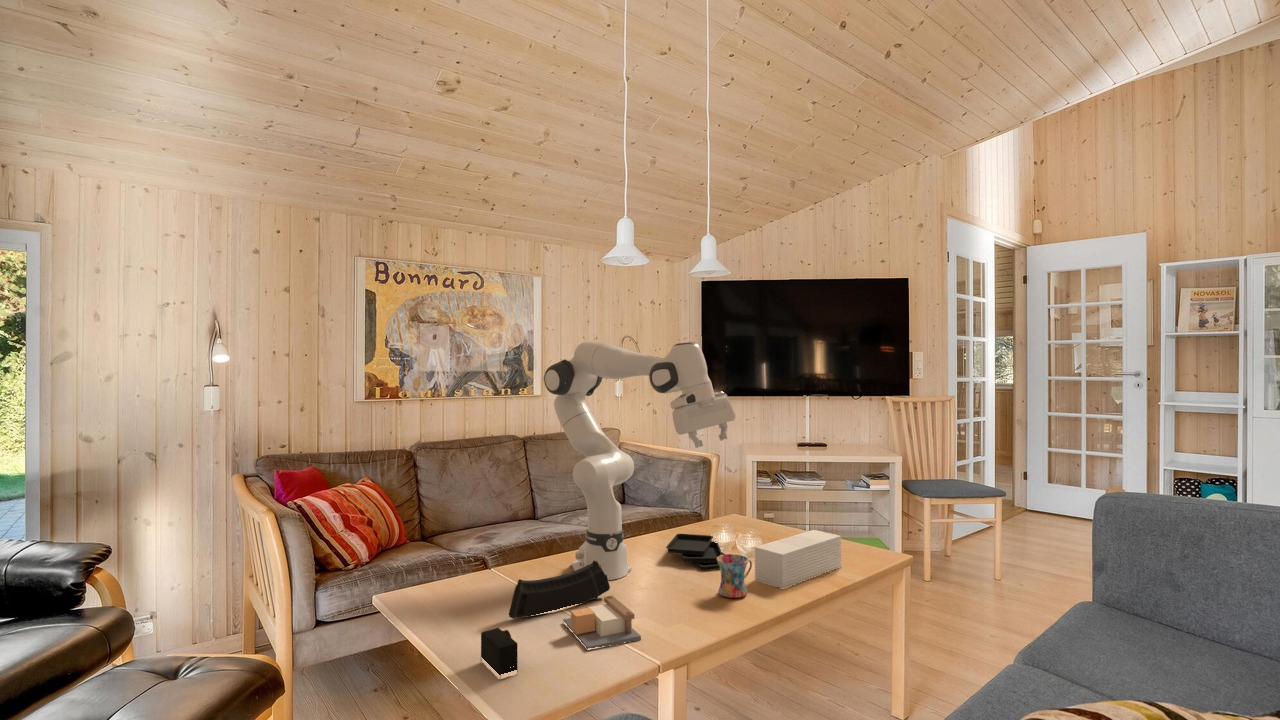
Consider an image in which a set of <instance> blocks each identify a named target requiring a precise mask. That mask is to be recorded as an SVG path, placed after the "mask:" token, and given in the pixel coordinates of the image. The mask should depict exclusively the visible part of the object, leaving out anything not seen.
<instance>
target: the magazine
mask: <svg viewBox="0 0 1280 720" xmlns="http://www.w3.org/2000/svg"><path fill="white" fill-rule="evenodd" d="M610 589H611V587H610V582H609V580H608V578H607V575H606V574H605V573H604V570H603V568H602V566H601V564H600V567H599V564H598V562H597V561H593V563H592V564H589V565H586V566H585V567H583V568H581V569H578V570H576V571H574V570H573V571H570V572H568V573H564V574H562V575H557V576H554V577H553V576H552V577H547V578H541V579H536V580H535V579H533V580H525V579H523V580H522V579H518V581H517V583H516V585H515V588H514V591H513V595H512V600H511V603H510V607H509V612H508V616H509V617H510V618H511V619H514V620H515V619H519V618H527V617H526V616H530V617H532V616H531V615H536V614H540V613H544V612H548V611H552V610H557V609H560V608H563V607H567V606H571V605H575V604H580V603H583V604H584V602H585V603H587V602H589V600H590V601H592V600H594V599H595V598H596V599H595V600H597V598H598V599H599V597H600V596H601V595H603V594H605V593H606V592H608V591H609V590H610Z"/></svg>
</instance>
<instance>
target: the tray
mask: <svg viewBox="0 0 1280 720" xmlns="http://www.w3.org/2000/svg"><path fill="white" fill-rule="evenodd" d="M713 538H714V535H709V534H708V535H707V534H694V533H692V534H691V533H676V535H675V536H673V538H672V540H671V541H670V542H669V543H668V544H667V545H666V547H665V548H666V550H667V553H669V554H677V555H678V554H679V555H681V558H683V561H684V563H690V564H692V565H693V566H695V567H696V568H697V569H699V570H700V571H712V570H711V569H713V570H719V569H718V568H720V567H719V564H718V561H717V557H718V556H720V555H725V554H726V553H724V552H722V550H721V547H720V545H719V542H718V543H715V542H716V541H715V540H714V541H715V542H714V541H712V539H713ZM701 563H714V564H707V565H703V564H701ZM715 563H716V564H715Z"/></svg>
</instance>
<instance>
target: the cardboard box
mask: <svg viewBox="0 0 1280 720" xmlns="http://www.w3.org/2000/svg"><path fill="white" fill-rule="evenodd" d="M570 618H571V629H572V630H573V631H574V633H575V634H582V633H587V632H592V631H595V612H593V611H592V610H591V609H590V608H581V609H574V610H570Z"/></svg>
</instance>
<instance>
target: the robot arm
mask: <svg viewBox="0 0 1280 720" xmlns="http://www.w3.org/2000/svg"><path fill="white" fill-rule="evenodd" d="M639 376H640V377H641V376H644V377H645V376H646V377H647V376H648V378H649V382H650V386H651V388H652V389H653V390H654V391H655V392H657V393H659V394H672V393H678V392H682V393H681V394H680V395H679V396H677V397H676V398H674V399H673V400H672V401H670V403H669V405H670V407H671V409H672V421H673V425H674V429H675V432H676V434H678V435H680V436H681V435H686V434H688V437H689V438H690V440H691V441H692V442H693V443H694V447H695V448H701V447H703V446H704V444H703V440H702V439H699V438H698V437H697V435H698V431H699V430H703V429H707V428H712V427H716V426H718V427H719V429H720V433H719V434H718V438H719V441H722V442H723V441H726V440H728V435H727V432H728V423H729V422H733V421H735V419H736V414H735V411H734V408H733V406H732V404H731V401H730V400H729V396H728V394H727V393H725V392H723V391H717V392H715V390H714V388H713V384H712V380H711V379H710V377H709V374H708V365H707V361H706V359H705V355H704V353H703V351H702V349H701V346H700V345H699V344H698V343H697V342H694V341H691V342H690V341H689V342H688V341H687V342H679V343H676V344H673V345H672V346H671V349H670V351H669V352H668V354H666V356H665V357H663V358H662V357H657V356H651V355H647V354H643V353H641V352H637V351H633V350H630V349H627V348H624V347H621V346H618V345H615V344H612V343H611V344H610V343H607V342H603V341H602V342H601V341H584V342H580V344H578V345H577V347H576V348H575V350H574V352H573V357H572V358H571V359H570V360H569V359H563V360H560V361H558V362H556V363H553V364H552V365H550V366H549V367H548V368H546V370H545V372H544V376H543V382H544V386H545V388H546V390H547V391H548V392H549V393H550V394H552V395H556V397H555V399H554V401H553V407H554V411H555V414H556V416H557V419H558V422H559V423H560V426H561V428H562V430H563V431H564V434H565V436H566V437H567V439H568V441H569V443H570V445H571V446H572V448H573V449H574V450H576V451H577V452H579V453H581V454H582V455H583V456H585V458H583V459H581V460H580V461H578V462H577V463H576V464H575V465H574V467H573V470H572V478H573V481H574V484H575V486H576V487H578V488H579V489H580V490H581V492H582V494H583V496H584V498H585V502H586V507H587V508H586V509H587V529H586V533H585V538H584V539H585V541H584V542H583V543H582V545H581V546H579V548H578V551H576V552H575V560H574V561H573V560H572V561H571V566H572V569H573V571H576V570H578V569H581V568H583V567H585V566H586V565H589V564H592V563H593V561H597V562H598V564H599V567H600V564H601V566H602V568H603V570H604V573H605V574H606V575H607V578H608V581H610V580H617V579H621V578H624V577H625V576H627V574H628V573H629V572H631V571H632V570H633V569H632V566H631V565H629V560H628V547H627V544H625V543H624V530H623V527H622V526H623V524H622V523H623V522H622V520H623V518H622V515H623V514H622V513H623V511H622V509H623V507H622V505H621V503H620V502H619V501H618V500H616V498H615V494H614V488H613V487H614V486H617V485H621V484H624V483H625V482H626V481H627V480H629V479H630V478H631V477H632V476H633V474H634V471H635V463H634V460H633V458H632V457H631V456H630V454H628V453H626V452H624V451H622V450H621V449H620V448H619V447H618V446H616V444H614V442H612V441H611V439H610V438H608V436H607V435H606V434H605V432H604V431H603V430H602V428H601V426H600V424H599V422H598V421H597V420H596V418H595V416H594V414H593V413H592V411H591V409H590V408H589V406H588V404H587V402H586V397H590V396H592V395H593V394H594V392H595V391H596V390H597V388H598V387H599V386H600V385H601V383H602V381H603V379H610V380H616V379H617V380H619V379H627V378H633V377H639Z"/></svg>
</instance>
